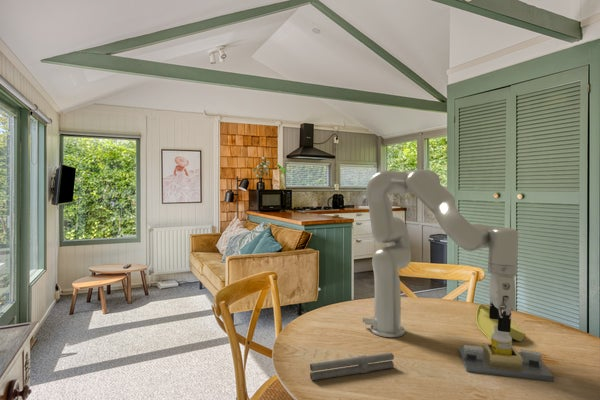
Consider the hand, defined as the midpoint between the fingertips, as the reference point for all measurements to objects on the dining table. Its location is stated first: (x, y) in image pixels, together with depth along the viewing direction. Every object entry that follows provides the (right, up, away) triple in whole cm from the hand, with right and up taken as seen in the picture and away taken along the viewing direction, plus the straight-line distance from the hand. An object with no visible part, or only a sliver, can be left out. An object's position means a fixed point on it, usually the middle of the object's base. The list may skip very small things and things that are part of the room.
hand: (499, 324), depth 108 cm
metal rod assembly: (-45, -13, -5) cm, 47 cm away
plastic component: (+13, -12, +25) cm, 31 cm away
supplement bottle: (+1, -11, 0) cm, 11 cm away
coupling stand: (+1, -12, 0) cm, 12 cm away
